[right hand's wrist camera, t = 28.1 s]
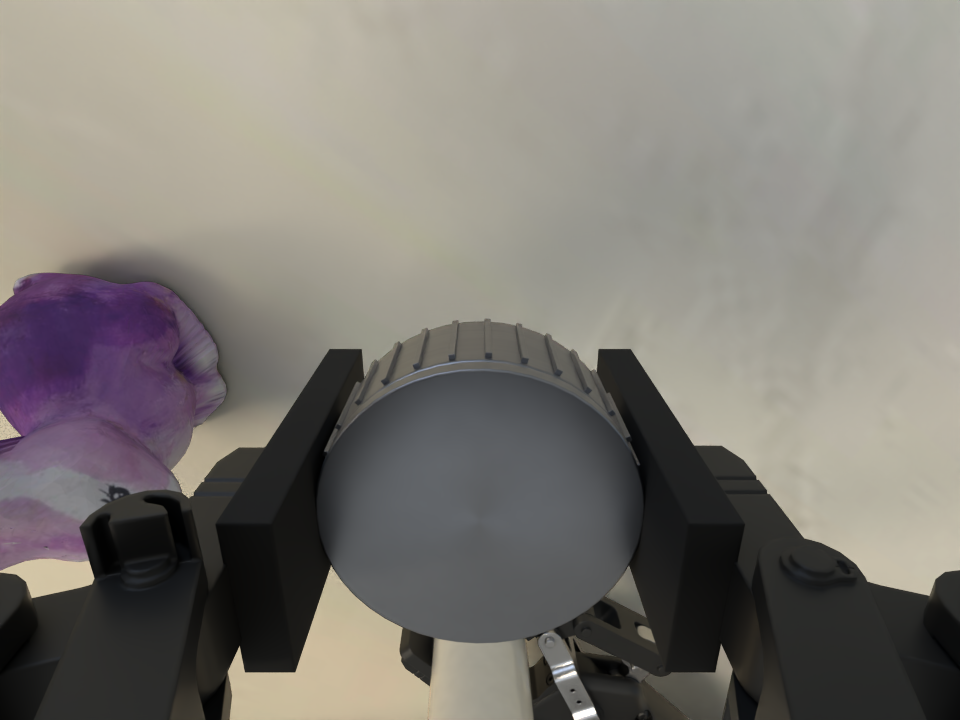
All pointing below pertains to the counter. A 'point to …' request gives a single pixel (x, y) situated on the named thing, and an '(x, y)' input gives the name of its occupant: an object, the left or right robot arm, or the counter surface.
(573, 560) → the lid
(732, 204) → the counter surface
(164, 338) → the figurine
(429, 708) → the jar
